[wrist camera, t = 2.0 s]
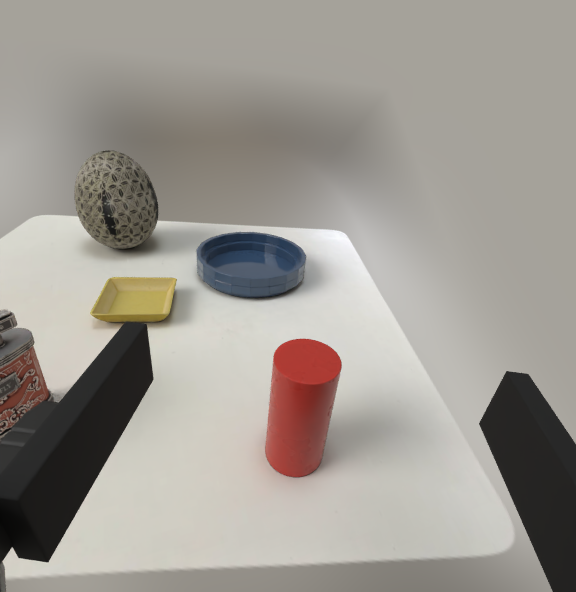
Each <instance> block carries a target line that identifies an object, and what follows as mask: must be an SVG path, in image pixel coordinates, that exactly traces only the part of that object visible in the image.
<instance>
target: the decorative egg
mask: <svg viewBox="0 0 576 592" xmlns="http://www.w3.org/2000/svg"><path fill="white" fill-rule="evenodd" d="M75 204H76V209H77V213H78V216H79V219H80V221H81V223H82V225H83V227H84V228H85V229H86V231H87V232H88V233H89V234H90V235H91V236H92V237H93V238H94V239H95V240H97V241H98V242H100V243H102V244H104V245H106V246H109V247H112V248H119V249H126V248H132V247H135V246H137V245H139V244H141V243H143V242H144V241H145V240H146V239H147V238H148V237H149V236H150V235H151V234H152V232H153V230H154V229H155V226H156V223H157V220H158V202H157V197H156V194H155V191H154V188H153V185H152V183H151V181H150V179H149V177H148V175H147V174H146V172H145V171H144V170H143V169H142V167H141V166H140V165H139V164H138V163H137V162H135V161H134V160H133V159H132V158H130V157H129V156H127V155H125V154H122V153H119V152H116V151H101V152H98V153H96V154H94V155H92V156H91V157H90V158H89V159H87V161H86V162H85V163H84V164H83V166H82V167H81V169H80V171H79V173H78V176H77V179H76V184H75Z"/></svg>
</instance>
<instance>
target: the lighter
mask: <svg viewBox="0 0 576 592" xmlns="http://www.w3.org/2000/svg"><path fill="white" fill-rule="evenodd" d="M16 326H17V322H16V319H15V316H14V313H13V312H11V311H8V310H6V309H4V310H0V440H1V439H2V438H3V437H4V436H5V435H6V434H7V433H8V432H9V431H11V429H12V427H13V426H14V425H15V424H16V423H17V422H18V420H19V419H20V418H21V417H22V416H23V415H24V414H25V413H26V412H27V411H29V410H30V409H32V408H33V407H35V406H36V405H38V404H39V403H41V402H42V401H51V402H54V400H53V396H52V393H51V391H50V390H49V389H47V386H46V383H45V380H44V377H43V374H42V371H41V368H40V365H39V362H38V359H37V356H36V353H35V350H34V347H33V345H34V343H35V342H34V339H33V336H32V332H31V331H29V330H27V329H25V328H14V327H16ZM12 328H13V329H12Z"/></svg>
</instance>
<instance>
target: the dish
mask: <svg viewBox="0 0 576 592" xmlns="http://www.w3.org/2000/svg"><path fill="white" fill-rule="evenodd" d="M305 260H306V255H305V253H304V251H303V250H302V248H300V247H299V246H298V245H296V244H295V243H293V242H291V241H289V240H287V239H284V238H281V237H278V236H274V235H270V234H264V233H256V232H236V233H228V234H222V235H218V236H215V237H212V238H209V239H208V240H206V241H204V242H202V243H201V244H200V246H199V247H198V248H197V273H198V275H199V276H200V277H201V278H202V280H203V281H204V282H205V283H207V284H209V285H210V286H211V287H213V288H214V289H216V290H218V291H220V292H223V293H226V294H229V295H233V296H239V297H247V298H262V297H270V296H275V295H279V294H282V293H284V292H286V291H288V290H290V289H291V288H293V287H295V286H297V285H298V284H299V283H300V281H301V280H302V279H303V276H304V268H305Z"/></svg>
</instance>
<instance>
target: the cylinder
mask: <svg viewBox="0 0 576 592" xmlns="http://www.w3.org/2000/svg"><path fill="white" fill-rule="evenodd" d="M341 366H342V364H341V360H340V357H339V356H338V354H337V353H336V352H335V351H334V350H333V349H332V348H331V347H329V346H328V345H326V344H324V343H322V342H319V341H315V340H311V339H295V340H291V341H288V342H285V343H283V344H282V345H280V346H279V347H278V348H277V350H276V351H275V353H274V358H273V369H272V380H271V391H270V403H269V414H268V425H267V436H266V447H265V453H266V457H267V460H268V461H269V463H270V465H271V466H272V467H273V468H274V469H275V470H276V471H278V472H279V473H281V474H283V475H286V476H290V477H301V476H305V475H308V474H310V473H312V472H313V471H314V470H316V468H317V467H318V466H319V464H320V462H321V460H322V455H323V451H324V446H325V441H326V437H327V432H328V428H329V423H330V418H331V414H332V409H333V404H334V400H335V395H336V391H337V386H338V381H339V377H340V372H341Z"/></svg>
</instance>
